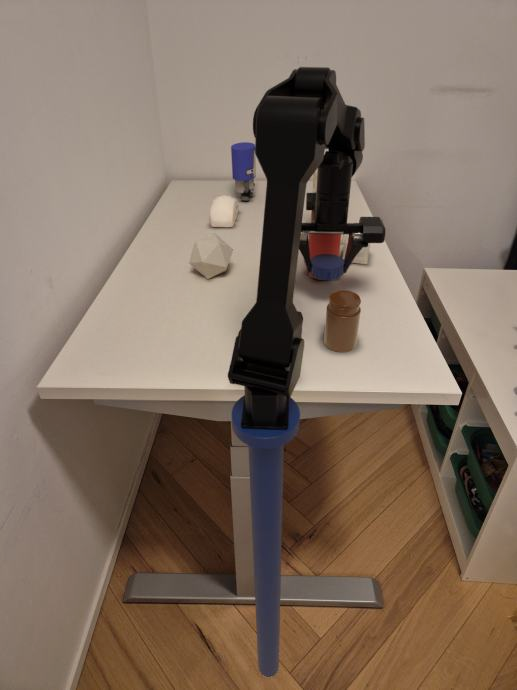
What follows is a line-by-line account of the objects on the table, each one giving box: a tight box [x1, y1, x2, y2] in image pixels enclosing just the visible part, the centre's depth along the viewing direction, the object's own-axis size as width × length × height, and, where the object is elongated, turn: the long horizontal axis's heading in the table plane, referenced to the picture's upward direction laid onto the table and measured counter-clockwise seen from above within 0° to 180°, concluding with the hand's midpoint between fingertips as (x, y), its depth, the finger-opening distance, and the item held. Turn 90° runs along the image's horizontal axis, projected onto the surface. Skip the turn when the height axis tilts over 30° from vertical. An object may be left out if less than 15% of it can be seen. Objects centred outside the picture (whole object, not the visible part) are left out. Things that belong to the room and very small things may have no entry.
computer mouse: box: [209, 195, 239, 228], centre depth 126 cm, size 6×13×6 cm, turn 174°
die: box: [188, 232, 234, 280], centre depth 100 cm, size 8×9×10 cm
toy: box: [230, 141, 257, 201], centre depth 137 cm, size 9×7×15 cm
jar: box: [323, 289, 362, 353], centre depth 78 cm, size 6×6×9 cm
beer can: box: [306, 219, 342, 281], centre depth 98 cm, size 7×7×12 cm
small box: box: [342, 234, 371, 265], centre depth 106 cm, size 6×6×5 cm
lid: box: [310, 254, 345, 281], centre depth 88 cm, size 6×6×2 cm
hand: (326, 272), depth 89 cm, fingers closed on lid, 6 cm apart
